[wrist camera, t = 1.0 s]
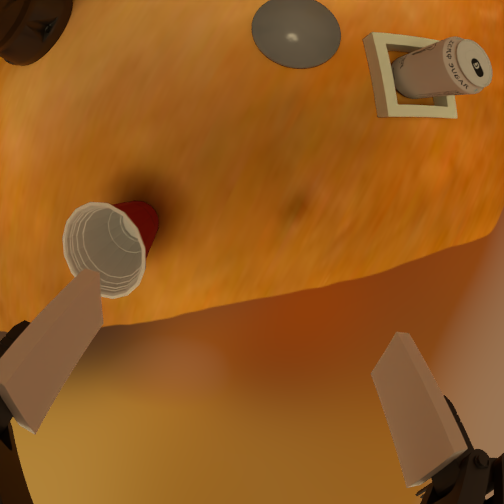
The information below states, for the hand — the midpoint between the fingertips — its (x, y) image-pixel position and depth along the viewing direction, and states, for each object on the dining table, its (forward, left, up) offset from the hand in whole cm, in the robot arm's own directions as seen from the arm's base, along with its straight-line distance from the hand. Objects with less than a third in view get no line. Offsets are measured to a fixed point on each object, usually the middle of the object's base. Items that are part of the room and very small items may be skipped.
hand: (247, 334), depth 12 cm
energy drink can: (-14, +22, -27) cm, 38 cm away
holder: (-14, +23, -27) cm, 38 cm away
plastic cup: (0, -16, -27) cm, 32 cm away
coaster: (-21, +8, -27) cm, 35 cm away
